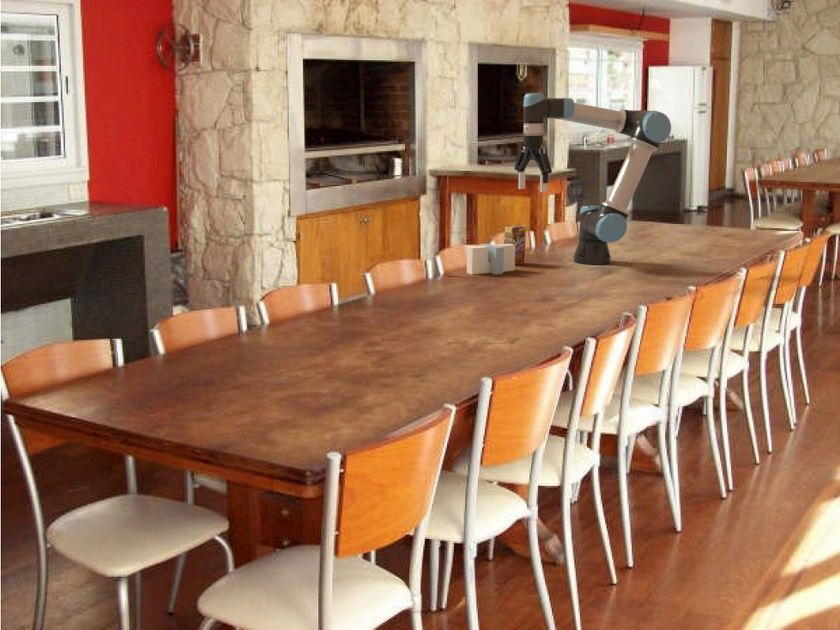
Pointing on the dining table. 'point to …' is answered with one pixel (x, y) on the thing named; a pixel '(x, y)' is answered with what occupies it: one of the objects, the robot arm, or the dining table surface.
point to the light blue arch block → (495, 258)
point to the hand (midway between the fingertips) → (532, 190)
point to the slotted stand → (479, 259)
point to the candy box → (516, 241)
